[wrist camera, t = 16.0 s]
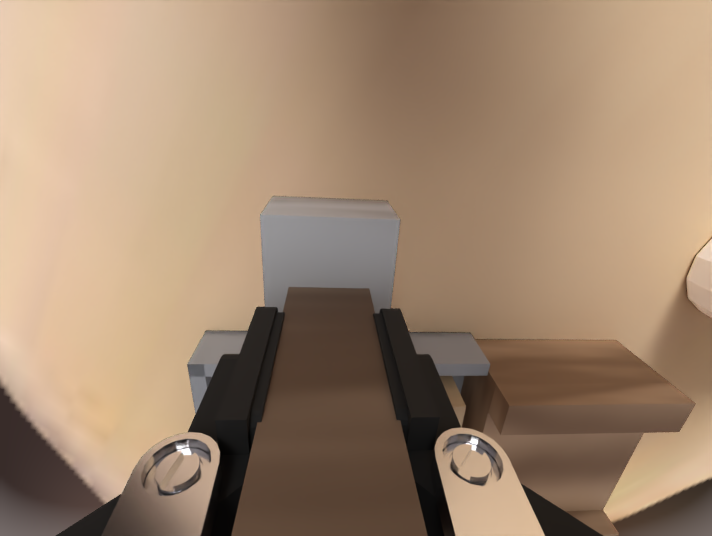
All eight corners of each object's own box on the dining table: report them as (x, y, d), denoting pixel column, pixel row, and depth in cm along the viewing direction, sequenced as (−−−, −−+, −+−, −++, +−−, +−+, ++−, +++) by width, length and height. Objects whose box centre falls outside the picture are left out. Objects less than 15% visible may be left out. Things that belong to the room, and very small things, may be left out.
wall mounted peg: (272, 195, 12) (-71, 698, 2) (387, 200, 13) (689, 640, 2) (278, 360, 15) (162, 942, 4) (372, 360, 15) (469, 899, 5)
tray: (205, 330, 21) (187, 364, 18) (470, 332, 22) (490, 364, 19) (227, 488, 26) (215, 532, 24) (436, 482, 28) (448, 523, 25)
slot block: (468, 339, 22) (509, 405, 17) (616, 340, 23) (695, 403, 18) (437, 478, 28) (462, 560, 23) (559, 474, 28) (608, 552, 23)
